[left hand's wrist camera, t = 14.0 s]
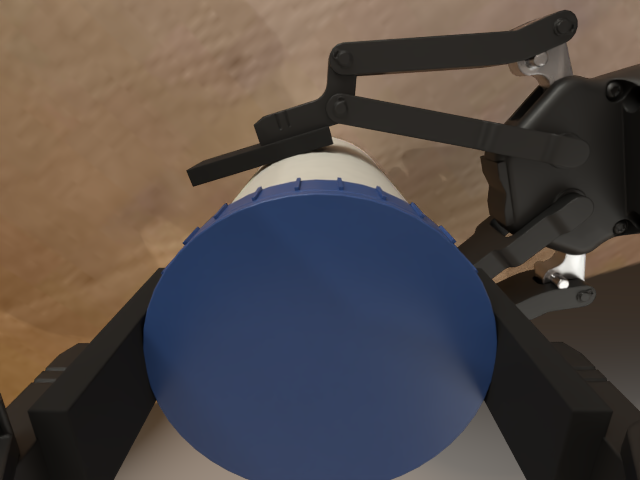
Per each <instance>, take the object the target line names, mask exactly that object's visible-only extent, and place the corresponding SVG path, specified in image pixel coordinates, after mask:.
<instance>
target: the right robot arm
mask: <svg viewBox="0 0 640 480" xmlns="http://www.w3.org/2000/svg"><path fill="white" fill-rule="evenodd" d="M577 27H578V20H577V18H576V16H575V14H574V13H572V12H571V11H568V10H563V11H559V12H556V13H553V14H550V15H547V16H544V17H541V18H538V19H536V20H533V21H530V22H527V23H525V24H523V25H521V26H519V27H516V28H514V29H512V30H510V31H503V32H489V33H474V34H460V35H445V36H431V37H416V38H402V39H387V40H373V41H358V42H344V43H340V44H337V45H336V46H335V47H334V48H333V49H332V51H331V53H330V56H329V60H328V74H327V86H326V90H325V92H324V93H323V95H322V96H321V97H320V98H318V99H316V100H314V101H311V102H308V103H305V104H301V105H298V106H295V107H292V108H289V109H286V110H282V111H279V112H276V113H273V114H270V115H267V116H264V117H262V118H261V119H260V120H259V121H258V122H257V123H255V124H254V127H255V130H256V133H257V136H258V139H259V142H260V143H259V144H256V145H253V146H250V147H246V148H243V149H240V150H237V151H233V152H230V153H227V154H224V155H221V156H217V157H214V158H211V159H208V160H204V161H202V162H200V163H199V164H197V165H195V166H193V167H192V168H190V169H188V170H186V171H187V173H188V176H189V178H190V180H191V183H192V185H193V187H194V186H197V185H200V184H204V183H207V182H210V181H213V180H217V179H220V178H223V177H227V176H230V175H233V174H236V173H240V172H243V171H246V170H250V169H253V168H256V167H260V166H263V165H266V164H269V163H273V162H276V161H279V160H283V159H286V158H289V157H293V156H296V155H299V154H302V153H306V152H309V151H312V150H316V149H319V148H322V147H326V146H329V145H332V144H333V140H332V136H331V133H330V129H329V126H332V125H335V124H344V125H350V126H355V127H361V128H366V129H371V130H377V131H382V132H387V133H393V134H398V135H403V136H409V137H414V138H419V139H425V140H430V141H436V142H441V143H446V144H452V145H457V146H462V147H468V148H473V149H478V150H482V151H485V155H484V156H481V157H480V158H481V164H482V170H483V173H484V175H485V177H486V179H487V181H488V184H489V192H488V200H487V201H488V208H489V214H490V215H491V216H489V217H488V218H487V219H485V220H484V221H483V222H482V223H480V224H479V225H478V226H477V228H476V230H475V233H474V235H472V236H471V237H470V238H469V239H468V240H466V241H465V242H464V243H463V244H461V245H460V246H459V247H457V248H458V249H459V250H460V252H461V253H463V255H464V256H465V257H466V258H467V259H468V260H469V261H470V262H471V263H472V265H473V266H474V267H475V268H482V269H483V270H484V271H485V273H486V274H487V275H488V276H489V277H490V278H491V279H492V278H494V277H495V276H496V275H498V274H499V273H500V272H502V271H503V270H504V269H506V268H509V267H517V266H519V265H521V264H523V263H524V262H525V261H527V260H528V259H529V258H531V257H532V256H534V255H535V254H536V253H538V252H539V251H540V250H542V249H543V248H544V247H548V248H551V249H553V250H555V253H554V255H553V256H552V257H551V258H550V259H548V260H546V261H544V262H543V261H537V262H536V263H535V264H534V270H529V271H525V272H522V273H518V274H516V275H514V276H511V277H509V278H507V279H505V280H503V281H500V282H498V283H496V284H497V286H498V287H499V288H500V289H501V290H502V291H503V292H504V293H505V294H506V295H507V296H508V297H509V299H510V300H511V301H512V302H513V303H514V304H515V305H516V306H517V307H518V308H519V309H520V310H521V312H522V313H523V314H524V315H525V316H526V317H527V318H528V319H529V320H532V319H534V318H536V317H538V316H541V315H543V314H545V313H547V312H550V311H557V310H564V309H571V308H578V307H584V306H587V305H589V304H590V303H592V302H593V300H594V299H595V297H596V291H595V289H594V288H593V287H592V286H590V285H589V284H588V283H586V282H585V281H584V275H585V259H586V254H587V253H589V252H591V251H593V250H594V249H595V248H597V247H598V246H599V245H600V244H602V243H603V242H605V241H607V240H608V239H611V238H613V237H616V236H622V235H630V234H639V233H640V64H637V65H634V66H631V67H627V68H624V69H621V70H618V71H614V72H611V73H608V74H604V75H601V76H598V77H594V78H590V79H589V78H584V77H581V76H573V73H572V68H571V63H570V58H569V53H568V48H567V43H566V42H567V41H569V40H570V39H571V38H572V37H573V36H574V34H575V33H576V30H577ZM503 64H508V66H509V69H510V71H511V72H512V74H514V75H516V76H533V77H535V78H536V79H537V80H538V83H539V86H538V87H537V88H536V89H535V90H534V91H533V92H532V93H531V94H530V95H529V97H528V98H527V99H526V100H525V101H524V102H523V103H522V104H521V106H520V107H519V108H518V109H517V110H516V111H515V112H514V113H513V115H512V116H511V117H510V118H509V119H508V120H507V121H506V122H505V124H500V123H494V122H489V121H483V120H478V119H473V118H468V117H463V116H457V115H452V114H447V113H442V112H436V111H431V110H426V109H421V108H415V107H410V106H405V105H400V104H395V103H389V102H384V101H379V100H374V99H368V98H363V97H358V96H355V88H356V76H368V75H383V74H398V73H413V72H428V71H442V70H457V69H472V68H483V67H491V66H497V65H503ZM509 232H510V233H511V234H513V235H512V236H510V237H505V235H507V234H508V233H509Z"/></svg>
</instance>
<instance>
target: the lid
mask: <svg viewBox="0 0 640 480" xmlns="http://www.w3.org/2000/svg"><path fill="white" fill-rule="evenodd" d="M455 242H456V241H455V240H454V238H453V237H452V236H451V235H450V234H449V233H448V232H447V231H446V230H445V229H444V228H443V227H442V226H440V227H438V226H437V225H436V224H435V223H434V222H433V221H431V220H430V219H429V218H428V217H427V216H426V215H425V214H423V213H422V211H421V210H420V209H419V208H418V207H417V206H416V204H414V203H413V202H412V203H411V204H408V203H407V202H405V201H404V200H402V199H400V198H397V197H395V196H393V195H391V194H389V193H387V192H384V191H383V190H382V189H381V187H379V186H376V189H375V188H372V187H369V186H366V185H363V184H357V183H352V182H346V181H342V179H341V178H339V177H337V180H319V179H314V180H303V181H301V178H297V179H296V181H292V182H288V183H283V184H279V185H274V186H270V187H267V188H265V189H262V187H258V188H257V190H256V191H255V192H254V193H251V194H248V195H247V196H245V197H243V198H241V199H239V200H237V201H235V202H233V203H231V204H230V205H227V203H226V204H224V205H223V206H222V207H221V208H220V210H219V211H218V212H217V213H216V214H215V215H214V216H213V217H212V218H211V219H210V220H209V221H207V222H206V223H205V224H204V225H203V226H202V227H201V228H199V227H197V228H196V229H195V230H194V231H193V232H192V233H191V234H190V235H189V236H188V238H187V239H186V240H185V241H184V242H183V244H184V245H185V246H184V247H183V248H182V249H181V250H180V251H179V252H178V254H177V255H176V256H175V258H174V259H173V260H172V261H171V262H170V263H169V264H168V265H167V267H166V268H165V269H164V270H163V271H162V273H161V275H162V276H161V278H160V280H159V282H158V284H157V285H156V287H155V289H154V292H153V294H152V297H151V300H150V303H149V306H148V308H147V313H146V318H145V324H144V329H143V351H144V357H145V363H146V369H147V374H148V379H149V383H150V386H151V389H152V391H153V393H154V396H155V398H156V400H157V402H158V404H159V406H160V408H161V409H162V411H163V413H164V414H165V416H166V417H167V419H168V420H169V422H170V423H171V424H172V425H173V427H174V428H175V429H176V430H177V431H178V433H179V434H180V435H181V436H182V437H183V438H184V439H185V440H186V441H187V442H188V443H189V444H190V445H191V446H192V447H194V448H195V449H196V450H197V451H198V452H200V453H201V454H202V455H204V456H205V457H207V458H208V459H209V460H211V461H212V462H214V463H216V464H217V465H219V466H221V467H223V468H224V469H226V470H228V471H230V472H232V473H234V474H237V475H239V476H241V477H243V478H245V479H248V480H391V479H394V478H396V477H399V476H402V475H404V474H406V473H408V472H410V471H412V470H414V469H416V468H418V467H420V466H421V465H423V464H424V463H426V462H427V461H429V460H430V459H432V458H434V457H435V456H436V455H438V454H439V453H440V452H441V451H443V450H444V449H445V448H446V447H448V446H449V445H450V444H451V443H452V442H453V441H454V440H455V439H456V438H457V437H458V436H459V435H460V434H461V433H462V432H463V431H464V429H465V428H466V427H467V425H468V424H469V423H470V421H471V420H472V419H473V417H474V416H475V415H476V413H477V411H478V409H479V408H480V406H481V404H482V402H483V400H484V399H485V396H486V394H487V391H488V388H489V386H490V383H491V380H492V375H493V370H494V364H495V358H496V352H497V332H496V321H495V317H494V313H493V309H492V305H491V301H490V299H489V297H488V294H487V292H486V290H485V287H484V285H483V282H482V281H481V279H480V278H479V276H478V274H477V273H478V271H477V269H476V268H475V267H474V266H473V265H472V263H471V262H470V261H469V260H468V259H467V258H466V257H465V256H464V255H463V253H461V252H460V250H459V249H458V248H457V247H456V246H455V245H454V243H455Z"/></svg>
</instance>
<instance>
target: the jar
mask: <svg viewBox="0 0 640 480" xmlns="http://www.w3.org/2000/svg"><path fill="white" fill-rule="evenodd" d="M332 140H333V144H332V145H329V146H326V147H322V148H319V149H316V150H312V151H309V152H306V153H302V154H299V155H296V156H293V157H289V158H286V159H283V160H279V161H276V162H273V163H269V164H266V165H263V166H261V167H260V168H259V170H258V171H257V172H256V173H255V175H254V176H253V177H252V178H251V180H250V181H249V182H248V183H247V185H246V186H245V187H244V188H243V189H242V191H241V192H240V193H239V194H238V196H237V197H236V198H235V199H234V201H233V202H235V201H237V200H239V199H241V198H243V197H245V196H247V195H248V194H251V193H254V192H255V191H256V190H257V188H258V187H262V189H265V188H267V187H270V186H274V185H279V184H283V183H288V182H292V181H296V179H297V178H301V181H303V180H314V179H319V180H337V177H339V178H341V179H342V181H346V182H352V183H357V184H363V185H366V186H369V187H372V188H375V189H376V186H379V187H381V189H382V190H383V191H384V192H387V193H389V194H391V195H393V196H395V197H397V198H400V199H402V200H404V201H405V202H407V201H406V200H405V198H404V197H403V196H402V195H401V194H400V192H399V191H398V190H397V189H396V187H395V186H394V185H393V184H392V182H391V181H390V180H389V179H388V177H387V176H386V175H385V174H384V173H383V171H382V170H381V169H380V168H379V166H378V165H377V164H376V163H375V161H374V160H373V159H372V158H371V157H370V156H369V155H368V154H367V153H365V152H364V151H363V150H362V149H360V148H359V147H357V146H355V145H354V144H352V143H349V142H347V141H345V140H342V139H338V138H334V137H332ZM233 202H232V203H233ZM407 203H408V202H407ZM408 204H409V203H408Z"/></svg>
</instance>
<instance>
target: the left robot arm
mask: <svg viewBox="0 0 640 480" xmlns="http://www.w3.org/2000/svg"><path fill="white" fill-rule="evenodd" d="M164 269H165V268H159V269H158V270H157V271H156V272H155V273H154V274H153V275H152V276H151V277H150V278H149V280H148V281H147V282H146V283H145V284H144V285H143V286H142V287H141V288H140V289H139V290H138V291H137V293H136V294H135V295H134V296H133V297H132V298H131V299H130V300H129V301H128V302H127V303H126V304H125V306H124V307H123V308H122V309H121V310H120V311H119V312H118V313H117V314H116V315H115V316H114V317H113V319H112V320H111V321H110V322H109V323H108V324H107V325H106V326H105V327H104V328H103V329H102V330H101V332H100V333H99V334H98V335H97V336H96V337H95V338H94V339H93V340H92V341H91V342H90V343H78V344H76V345H75V346H73V347H71V348H70V349H68V350H66V351H65V352H63V353H61V354H60V355H59V356H58V357H57V358H56V359H55V360H54V361H53V362H52V363H51V364H50V365H49V366H48V367H47V368H46V370H45V371H43V372H42V373H41V374H40V375H39V376H38V377H37V378H36V379H35V380H34V383H31V384H30V385H29V386H28V387H27V388H26V389H25V390H24V391H23V392H22V393H21V394H20V395H19V396H18V397H17V398H16V399H15V400H14V401H13V402H12V403H11V404H10V405H9V406H8V407H7V408H5V405H4V402H3V399H2V396H1V393H0V480H114V478H115V476H116V474H117V473H118V471H119V469H120V467H121V465H122V463H123V461H124V460H125V458H126V456H127V454H128V452H129V450H130V448H131V446H132V445H133V443H134V441H135V439H136V437H137V435H138V433H139V432H140V429H141V428H142V426H143V424H144V422H145V420H146V418H147V416H148V415H149V413H150V411H151V409H152V407H153V405H154V403H155V402H156V398H155V396H154V393H153V391H152V389H151V386H150V383H149V379H148V374H147V369H146V363H145V357H144V351H143V329H144V324H145V318H146V313H147V308H148V306H149V303H150V300H151V297H152V294H153V292H154V289H155V287H156V285H157V284H158V282H159V280H160V278H161V276H162V275H161V273H162V271H163V270H164ZM476 269H477V271H478V273H477V274H478V276H479V278H480V279H481V281H482V282H483V285H484V287H485V290H486V292H487V294H488V297H489V299H490V301H491V305H492V309H493V313H494V317H495V321H496V332H497V352H496V358H495V364H494V370H493V375H492V380H491V383H490V386H489V388H488V391H487V394H486V396H485V399H484V401H485V403H486V405H487V406H488V408H489V410H490V412H491V414H492V416H493V418H494V420H495V421H496V423H497V425H498V427H499V429H500V431H501V433H502V434H503V436H504V438H505V440H506V442H507V444H508V446H509V448H510V449H511V451H512V453H513V455H514V457H515V459H516V461H517V463H518V464H519V466H520V468H521V470H522V472H523V474H524V476H525V478H526V479H527V480H640V411H639V410H638V409H637V408H636V407H635V406H634V405H633V404H632V403H631V402H630V401H629V400H628V399H627V398H626V397H625V396H624V395H623V394H622V393H621V392H620V391H619V390H618V389H617V388H616V387H615V386H614V385H613V384H612V383H611V382H610V381H607V379H606V377H605V376H604V375H603V374H602V373H601V372H600V371H599V370H596V369H595V366H594V365H593V364H592V363H591V362H590V361H589V360H588V359H587V358H586V357H585V356H584V355H583V354H581V353H580V352H578V351H577V350H575V349H573V348H572V347H570V346H568V345H567V344H565V343H563V342H549V341H548V340H547V339H546V338H545V336H544V335H543V334H542V333H541V332H540V331H539V330H538V329H537V328H536V327H535V326H534V325H533V323H532V322H531V321H530V320H529V319H528V318H527V317H526V316H525V315H524V314H523V313H522V312H521V310H520V309H519V308H518V307H517V306H516V305H515V304H514V303H513V302H512V301H511V300H510V299H509V297H508V296H507V295H506V294H505V293H504V292H503V291H502V290H501V289H500V288H499V287H498V286H497V284H496V283H495V282H494V281H493V280H492V279H491V278H490V277H489V276H488V275H487V274H486V273H485V271H484V270H483V269H482V268H476Z"/></svg>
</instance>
